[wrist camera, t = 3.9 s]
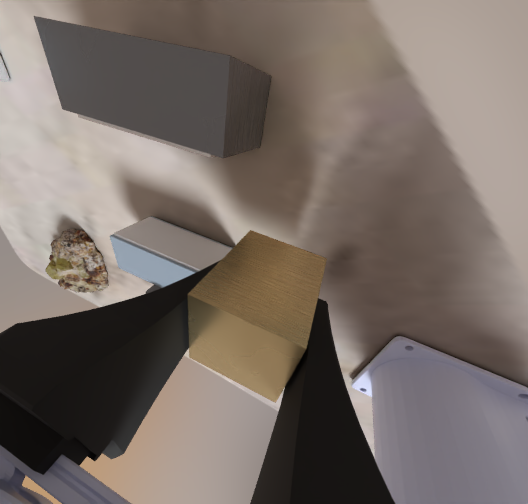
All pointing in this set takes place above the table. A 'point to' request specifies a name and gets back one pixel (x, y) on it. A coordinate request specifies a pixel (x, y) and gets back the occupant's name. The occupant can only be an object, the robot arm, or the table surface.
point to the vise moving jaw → (164, 251)
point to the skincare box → (3, 71)
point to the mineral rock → (77, 263)
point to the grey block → (157, 88)
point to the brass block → (256, 312)
